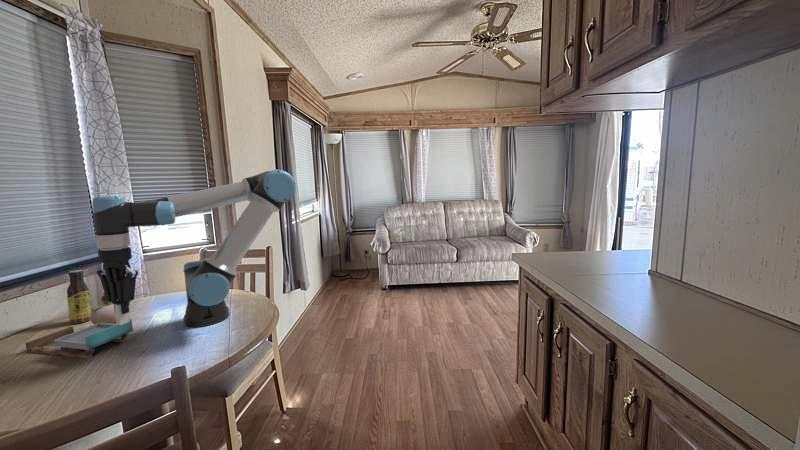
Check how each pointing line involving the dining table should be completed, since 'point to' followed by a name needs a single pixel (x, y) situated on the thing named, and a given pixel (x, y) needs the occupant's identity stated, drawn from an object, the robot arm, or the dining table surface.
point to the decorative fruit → (103, 314)
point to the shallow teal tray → (93, 336)
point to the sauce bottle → (78, 298)
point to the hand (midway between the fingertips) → (123, 323)
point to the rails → (48, 339)
